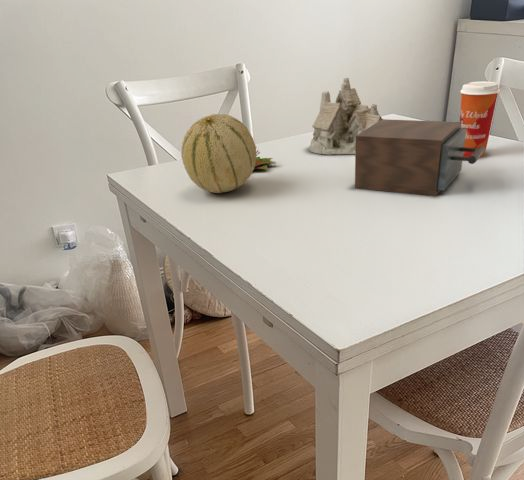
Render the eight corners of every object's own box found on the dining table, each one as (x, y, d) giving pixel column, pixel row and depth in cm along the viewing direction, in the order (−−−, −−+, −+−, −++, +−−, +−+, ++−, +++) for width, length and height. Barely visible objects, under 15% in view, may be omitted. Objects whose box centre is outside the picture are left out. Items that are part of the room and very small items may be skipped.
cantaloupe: (258, 177, 117) (252, 102, 108) (259, 199, 104) (252, 117, 96) (191, 182, 117) (179, 108, 109) (184, 205, 105) (170, 124, 96)
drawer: (484, 172, 104) (490, 129, 100) (468, 192, 96) (474, 146, 91) (389, 165, 113) (392, 125, 108) (367, 183, 104) (368, 141, 100)
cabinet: (455, 173, 108) (461, 122, 102) (435, 196, 98) (441, 140, 93) (379, 167, 115) (381, 119, 109) (354, 188, 105) (355, 135, 100)
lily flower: (273, 174, 117) (271, 152, 115) (220, 175, 119) (217, 154, 117) (281, 159, 127) (279, 138, 124) (231, 160, 129) (229, 140, 126)
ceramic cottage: (301, 147, 133) (303, 80, 124) (356, 138, 139) (362, 73, 130) (336, 165, 122) (340, 93, 113) (394, 154, 128) (403, 84, 119)
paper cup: (445, 156, 118) (453, 86, 110) (464, 148, 122) (473, 80, 114) (478, 161, 113) (489, 88, 105) (497, 152, 117) (508, 82, 109)
